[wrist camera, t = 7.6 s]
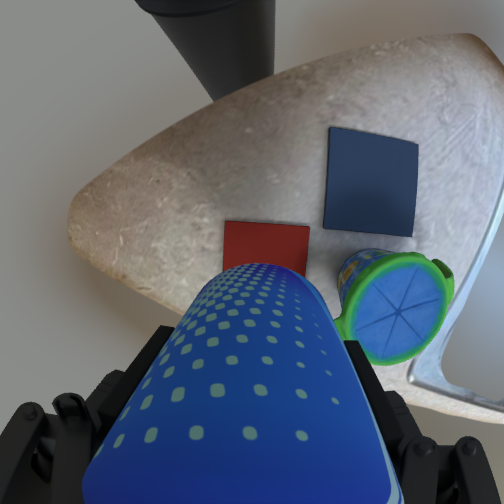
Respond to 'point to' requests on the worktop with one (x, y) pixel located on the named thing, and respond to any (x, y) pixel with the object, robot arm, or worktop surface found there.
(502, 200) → the worktop surface
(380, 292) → the snack cup
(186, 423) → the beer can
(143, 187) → the worktop surface
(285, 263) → the red mat
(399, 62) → the worktop surface
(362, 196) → the blue mat
